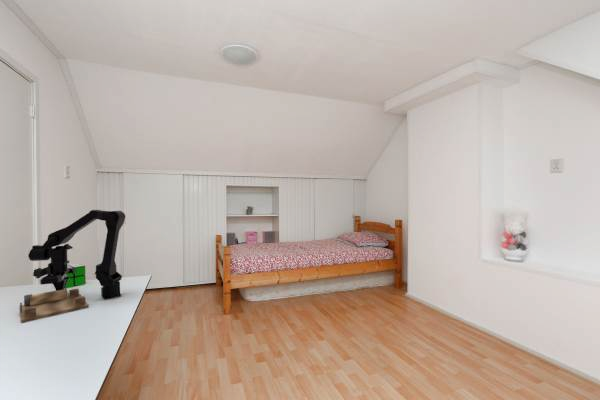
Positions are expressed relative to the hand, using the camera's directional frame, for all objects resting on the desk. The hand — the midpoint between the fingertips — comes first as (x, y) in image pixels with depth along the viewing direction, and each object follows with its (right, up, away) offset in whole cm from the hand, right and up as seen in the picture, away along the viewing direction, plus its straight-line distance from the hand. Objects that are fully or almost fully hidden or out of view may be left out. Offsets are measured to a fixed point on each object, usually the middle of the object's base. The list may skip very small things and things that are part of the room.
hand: (59, 294), depth 128 cm
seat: (+6, -2, -10) cm, 12 cm away
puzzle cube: (-13, -3, +23) cm, 26 cm away
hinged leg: (0, -1, -6) cm, 6 cm away
